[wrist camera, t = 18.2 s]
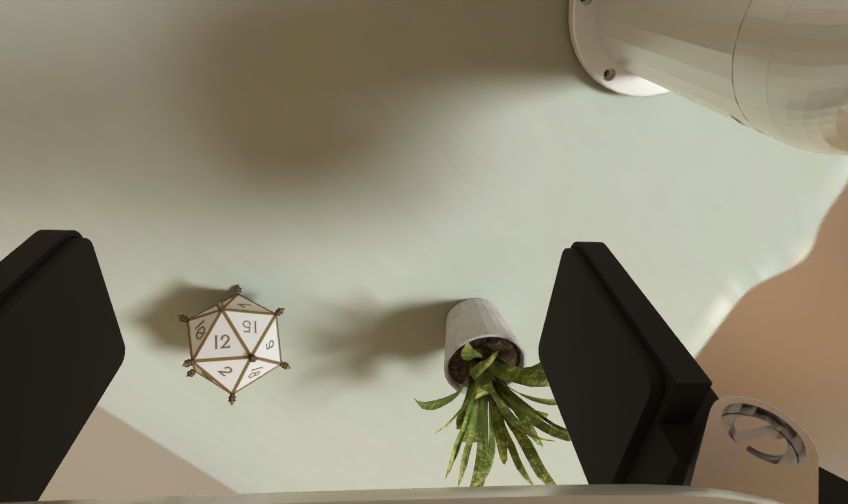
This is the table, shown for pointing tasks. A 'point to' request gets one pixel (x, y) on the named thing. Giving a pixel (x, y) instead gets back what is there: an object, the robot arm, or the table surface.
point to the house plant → (492, 391)
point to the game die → (234, 343)
